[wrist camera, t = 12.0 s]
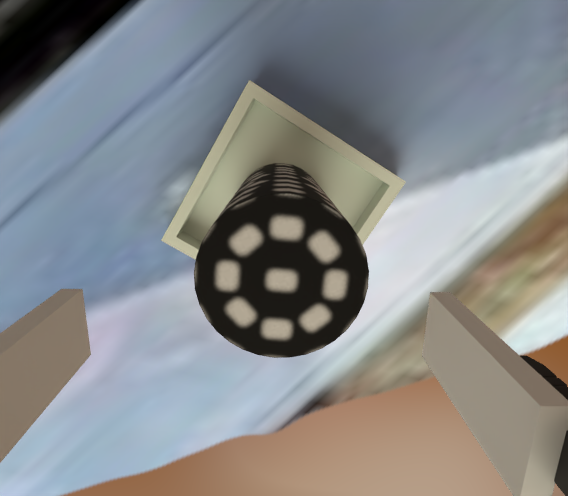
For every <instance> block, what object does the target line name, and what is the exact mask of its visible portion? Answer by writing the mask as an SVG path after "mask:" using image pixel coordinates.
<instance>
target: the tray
mask: <svg viewBox="0 0 568 496" xmlns="http://www.w3.org/2000/svg"><path fill="white" fill-rule="evenodd" d="M273 163H286V164H291V165H294V166H297V167H299V168H301V169H303V170H304V171H306V172H307V173H308V174H309V175H310V176H311V177H312V178H313V179H314V180H315V181H316V182H317V184H318V185H319V186H320V187H321V189H322V190H323V191H324V192H325V194H326V195H327V196H328V197H329V199H330V200H331V201H332V202H333V204H334V205H335V206H336V207H337V209H338V210H339V211H340V212H341V214H342V215H343V216H344V217H345V219H346V220H347V221H348V222H349V223H350V225H351V226H352V228H353V229H354V231H355V232H356V234H357V235H358V237H359V238H360V240H361V243H362V245H363V243H364V242H365V241H366V239H367V238H368V236H369V235H370V233H371V232H372V230H373V229H374V227H375V226H376V225H377V223H378V222H379V220H380V219H381V217H382V216H383V214H384V213H385V211H386V210H387V209H388V207H389V206H390V204H391V203H392V201H393V200H394V198H395V197H396V195H397V194H398V193H399V191H400V190H401V188H402V187H403V185H404V184H405V181H404V180H402V179H401V178H399V177H397V176H396V175H394V174H393V173H391V172H390V171H388V170H387V169H385V168H384V167H382V166H381V165H379V164H377V163H376V162H374V161H373V160H371V159H370V158H368V157H367V156H365V155H364V154H362V153H361V152H359V151H358V150H356V149H354V148H353V147H351V146H350V145H348V144H347V143H345V142H344V141H342V140H341V139H339V138H338V137H336V136H334V135H333V134H331V133H330V132H328V131H327V130H325V129H324V128H322V127H321V126H319V125H318V124H316V123H315V122H313V121H311V120H310V119H308V118H307V117H305V116H304V115H302V114H301V113H299V112H298V111H296V110H295V109H293V108H291V107H290V106H288V105H287V104H285V103H284V102H282V101H281V100H279V99H278V98H276V97H275V96H273V95H272V94H270V93H268V92H267V91H265V90H264V89H262V88H261V87H259V86H258V85H256V84H255V83H253V82H252V81H250V80H249V81H248V83H247V85H246V87H245V89H244V91H243V92H242V94H241V96H240V98H239V100H238V101H237V103H236V105H235V107H234V109H233V111H232V112H231V114H230V116H229V118H228V120H227V122H226V123H225V125H224V127H223V129H222V131H221V132H220V134H219V136H218V138H217V140H216V142H215V143H214V145H213V147H212V149H211V151H210V153H209V154H208V156H207V158H206V160H205V162H204V163H203V165H202V167H201V169H200V171H199V173H198V174H197V176H196V178H195V180H194V182H193V184H192V185H191V187H190V189H189V191H188V193H187V194H186V196H185V198H184V200H183V202H182V204H181V205H180V207H179V209H178V211H177V213H176V215H175V216H174V218H173V220H172V222H171V224H170V225H169V227H168V229H167V231H166V233H165V235H164V236H163V238H162V240H161V241H163V242H165V243H167V244H168V245H170V246H172V247H174V248H176V249H177V250H179V251H181V252H183V253H185V254H186V255H188V256H190V257H192V258H193V259H195V260H196V256H197V253H198V251H199V248H200V245H201V242H202V240H203V239H204V237H205V236H206V234H207V232H208V231H209V229H210V228H211V226H212V225H213V223H214V222H215V221H216V219H217V218H218V216H219V215H220V214H221V212H222V211H223V210H224V208H225V207H226V206H227V204H228V203H229V201H230V200H231V199H232V197H233V196H234V195H235V193H236V192H237V190H238V189H239V188H240V186H241V185H242V184H243V182H244V181H245V179H246V178H247V177H248V176H249V175H250V174H251V173H253V172H254V171H255V170H257V169H258V168H261V167H263V166H265V165H268V164H273Z"/></svg>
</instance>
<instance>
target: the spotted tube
mask: <svg viewBox="0 0 568 496" xmlns="http://www.w3.org/2000/svg"><path fill="white" fill-rule="evenodd" d="M368 276H369V270H368V263H367V257H366V253H365V251H364V248H363V245H362V243H361V240H360V238H359V237H358V235H357V234H356V232H355V231H354V229H353V228H352V226H351V225H350V223H349V222H348V221H347V220H346V219H345V217H344V216H343V215H342V214H341V212H340V211H339V210H338V209H337V207H336V206H335V205H334V204H333V202H332V201H331V200H330V199H329V197H328V196H327V195H326V194H325V192H324V191H323V190H322V189H321V187H320V186H319V185H318V184H317V182H316V181H315V180H314V179H313V178H312V177H311V176H310V175H309V174H308V173H307V172H306V171H304V170H303V169H301V168H299V167H297V166H294V165H291V164H286V163H273V164H268V165H265V166H263V167H261V168H258V169H257V170H255V171H254V172H253V173H251V174H250V175H249V176H248V177H247V178H246V179H245V181H244V182H243V184H242V185H241V186H240V188H239V189H238V190H237V192H236V193H235V195H234V196H233V197H232V199H231V200H230V201H229V203H228V204H227V206H226V207H225V208H224V210H223V211H222V212H221V214H220V215H219V216H218V218H217V219H216V221H215V222H214V223H213V225H212V226H211V228H210V229H209V231H208V232H207V234H206V236H205V237H204V239H203V240H202V242H201V245H200V248H199V251H198V253H197V256H196V262H195V269H194V280H195V291H196V294H197V298H198V301H199V305H200V307H201V308H202V310H203V312H204V314H205V316H206V318H207V320H208V321H209V322H210V323H211V325H212V326H213V327H214V328H215V330H216V331H217V332H218V333H220V334H221V335H222V336H223V337H224V338H225V339H227V340H228V341H229V342H231V343H232V344H234V345H236V346H238V347H239V348H241V349H243V350H246V351H249V352H251V353H254V354H257V355H262V356H268V357H274V358H276V357H295V356H300V355H305V354H308V353H311V352H314V351H316V350H319V349H321V348H323V347H325V346H326V345H328V344H330V343H331V342H333V341H335V340H336V339H337V338H338V337H339V336H340V335H342V334H343V333H344V332H345V331H346V330H347V329H348V328H349V326H350V325H351V324H352V322H353V321H354V320H355V319H356V317H357V315H358V313H359V311H360V309H361V307H362V305H363V303H364V300H365V296H366V292H367V289H368Z"/></svg>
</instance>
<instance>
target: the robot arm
mask: <svg viewBox="0 0 568 496" xmlns="http://www.w3.org/2000/svg"><path fill="white" fill-rule="evenodd" d="M90 355H91V352H90V344H89V337H88V329H87V321H86V313H85V306H84V298H83V290H82V289H61V290H59V291H58V292H57V293H55V294H54V295H53V296H51V297H50V298H48V299H47V300H46V301H44V302H43V303H42V304H40V305H39V306H37V307H36V308H35V309H33V310H32V311H31V312H29V313H28V314H26V315H25V316H24V317H22V318H21V319H19V320H18V321H17V322H15V323H14V324H13V325H11V326H10V327H8V328H7V329H6V330H4V331H3V332H2V333H0V462H1V461H2V460H3V459H4V458H5V456H6V455H7V454H8V453H9V452H10V451H11V449H12V448H13V447H14V446H15V445H16V443H17V442H18V441H19V440H20V439H21V437H22V436H23V435H24V434H25V433H26V431H27V430H28V429H29V428H30V427H31V425H32V424H33V423H34V422H35V421H36V419H37V418H38V417H39V416H40V415H41V414H42V412H43V411H44V410H45V409H46V408H47V406H48V405H49V404H50V403H51V402H52V400H53V399H54V398H55V397H56V396H57V394H58V393H59V392H60V391H61V390H62V388H63V387H64V386H65V385H66V384H67V382H68V381H69V380H70V379H71V378H72V377H73V375H74V374H75V373H76V372H77V371H78V369H79V368H80V367H81V366H82V365H83V363H84V362H85V361H86V360H87V359H88V357H89V356H90ZM422 357H423V358H424V360H425V361H426V363H427V365H428V366H429V368H430V369H431V371H432V372H433V374H434V375H435V377H436V378H437V380H438V381H439V383H440V384H441V386H442V387H443V389H444V390H445V392H446V394H447V395H448V397H449V398H450V400H451V401H452V403H453V404H454V406H455V407H456V409H457V410H458V412H459V413H460V415H461V417H462V418H463V420H464V421H465V422H466V424H467V426H468V427H469V429H470V430H471V432H472V433H473V435H474V436H475V438H476V439H477V441H478V443H479V444H480V446H481V447H482V448H483V450H484V452H485V453H486V455H487V456H488V458H489V459H490V461H491V462H492V464H493V465H494V467H495V469H496V470H497V472H498V473H499V475H500V476H501V477H502V479H503V481H504V482H505V484H506V485H507V487H508V488H509V490H510V491H511V493H512V494H513V496H552V493H553V490H554V485H555V483H556V484H557V486H558V487H559V488H560V489H561V491H562V492H563V493H564V494H565V496H568V387H567V385H566V384H565V383H564V382H563V381H562V380H561V379H559V378H557V377H556V375H555V374H554V373H552V372H551V371H550V370H549V369H548V368H547V367H546V366H544V365H543V364H541V363H539V362H537V361H535V360H534V359H532V358H530V357H528V356H519V355H518V354H517V353H516V352H515V351H514V350H512V349H511V348H510V347H509V346H508V345H507V344H506V343H505V342H504V341H503V340H502V339H500V338H499V337H498V336H497V335H496V334H495V333H494V332H493V331H492V330H491V329H490V328H488V327H487V326H486V325H485V324H484V323H483V322H482V321H481V320H480V319H479V318H478V317H476V316H475V315H474V314H473V313H472V312H471V311H470V310H469V309H468V308H467V307H466V306H464V305H463V304H462V303H461V302H460V301H459V300H458V299H457V298H456V297H455V296H453V295H452V294H451V293H450V292H430V298H429V306H428V314H427V322H426V330H425V338H424V346H423V354H422Z"/></svg>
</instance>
